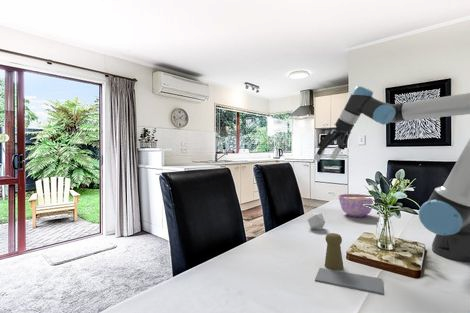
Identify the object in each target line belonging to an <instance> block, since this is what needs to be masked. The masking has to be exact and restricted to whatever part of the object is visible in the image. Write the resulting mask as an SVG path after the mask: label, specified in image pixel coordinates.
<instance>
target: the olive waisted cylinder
mask: <svg viewBox="0 0 470 313" xmlns="http://www.w3.org/2000/svg"><path fill="white" fill-rule="evenodd" d="M342 241H343V237H342V236H341V235H340V234H339V233H334V232H333V233H332V232H330V233H327V234H326V235H325V242H326V243H327V244H326V253H325V260H324V267H325V269H330V270H336V271H342V270H344V261H343V255H342V254H343V253H342V247H341V244H342Z"/></svg>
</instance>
